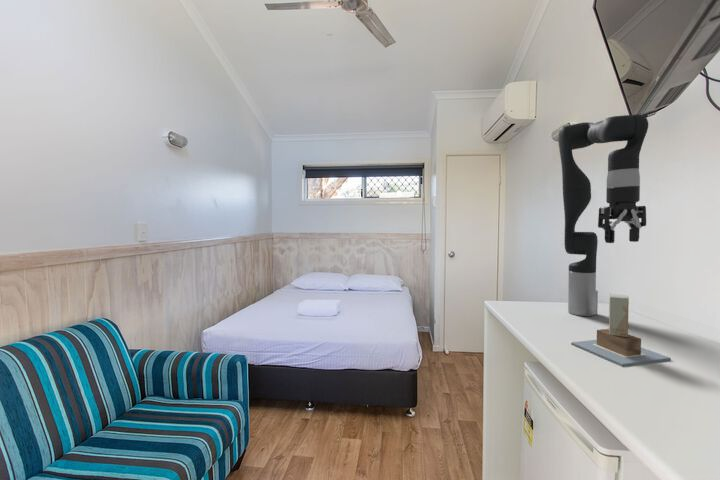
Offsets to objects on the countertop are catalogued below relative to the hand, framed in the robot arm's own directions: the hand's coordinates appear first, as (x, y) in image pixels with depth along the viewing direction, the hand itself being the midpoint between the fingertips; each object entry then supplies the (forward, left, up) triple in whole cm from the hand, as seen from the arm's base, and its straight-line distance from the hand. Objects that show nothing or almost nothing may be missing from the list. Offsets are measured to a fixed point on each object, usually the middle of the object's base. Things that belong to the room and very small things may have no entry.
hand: (621, 242), depth 96 cm
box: (+3, +2, -27) cm, 27 cm away
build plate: (+3, +2, -32) cm, 32 cm away
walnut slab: (+3, +2, -31) cm, 31 cm away
